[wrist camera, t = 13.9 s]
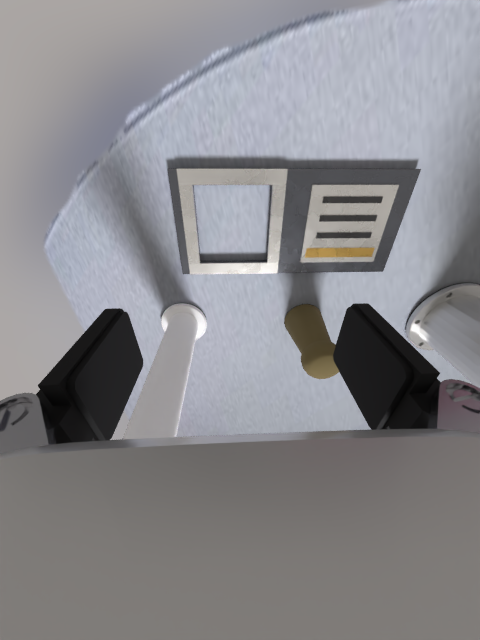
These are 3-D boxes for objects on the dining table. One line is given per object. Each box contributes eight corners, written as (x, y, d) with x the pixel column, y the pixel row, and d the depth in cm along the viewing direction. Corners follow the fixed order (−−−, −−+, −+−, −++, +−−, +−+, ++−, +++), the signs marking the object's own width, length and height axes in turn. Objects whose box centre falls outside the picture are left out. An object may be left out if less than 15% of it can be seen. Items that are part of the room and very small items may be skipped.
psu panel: (415, 169, 26) (422, 169, 25) (379, 269, 33) (384, 272, 32) (169, 168, 25) (166, 168, 24) (183, 271, 32) (182, 274, 31)
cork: (320, 331, 39) (348, 382, 29) (285, 337, 39) (302, 388, 30) (322, 301, 35) (354, 347, 26) (283, 307, 36) (301, 355, 26)
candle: (169, 341, 39) (98, 543, 18) (156, 305, 35) (44, 511, 14) (210, 336, 38) (187, 536, 17) (201, 300, 34) (158, 501, 14)
